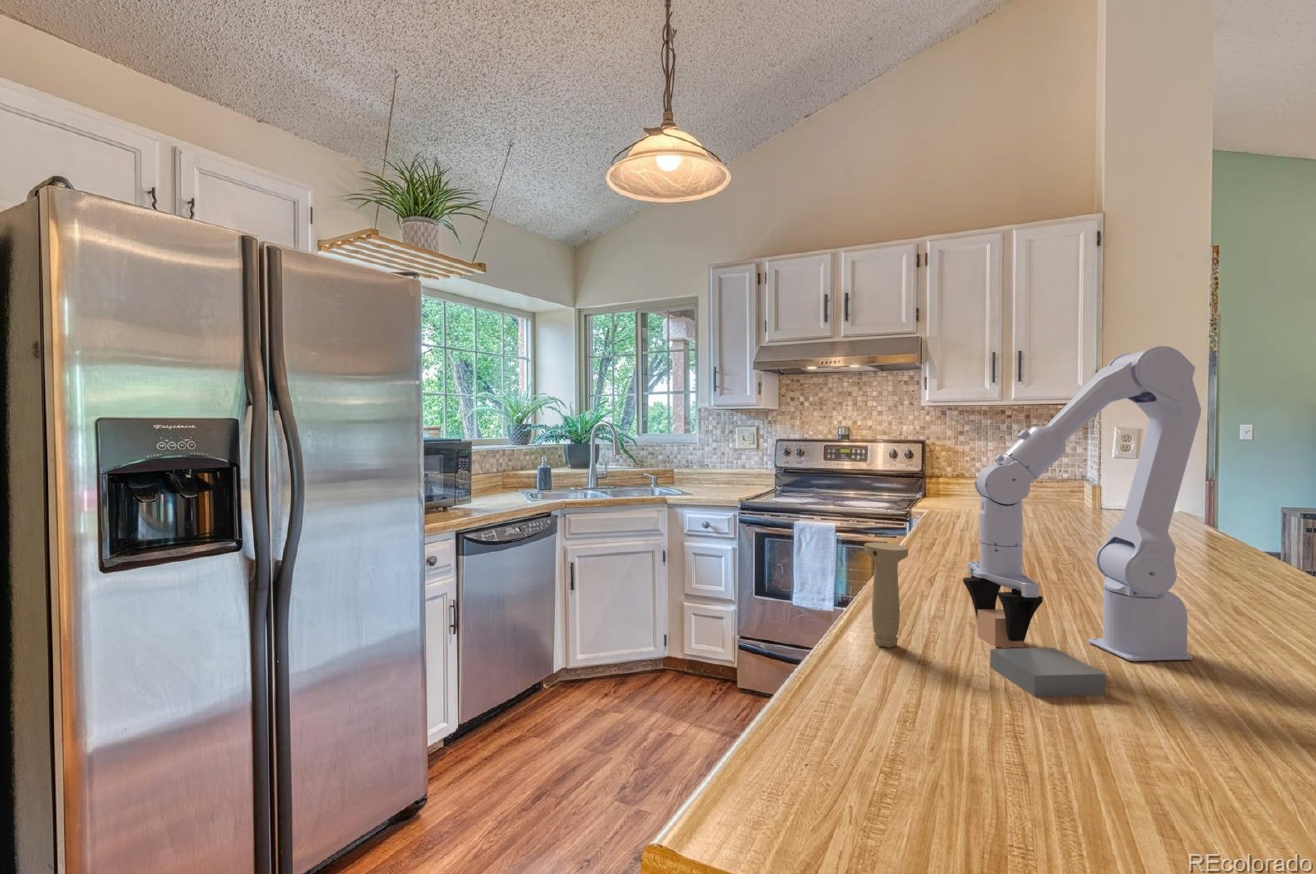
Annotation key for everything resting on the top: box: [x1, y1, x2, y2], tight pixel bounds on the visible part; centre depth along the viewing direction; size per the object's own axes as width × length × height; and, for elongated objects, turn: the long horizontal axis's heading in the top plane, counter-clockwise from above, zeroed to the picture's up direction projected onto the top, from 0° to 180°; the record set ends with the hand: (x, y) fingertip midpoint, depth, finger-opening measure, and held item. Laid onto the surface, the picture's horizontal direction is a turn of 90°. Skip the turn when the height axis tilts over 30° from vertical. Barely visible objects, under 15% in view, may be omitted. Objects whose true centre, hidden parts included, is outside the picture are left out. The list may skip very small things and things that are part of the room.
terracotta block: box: [977, 608, 1025, 649], centre depth 93 cm, size 4×4×4 cm
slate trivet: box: [989, 647, 1106, 698], centre depth 79 cm, size 9×9×3 cm
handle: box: [863, 541, 909, 649], centre depth 92 cm, size 5×6×15 cm
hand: (1000, 631), depth 93 cm, fingers open, 7 cm apart
